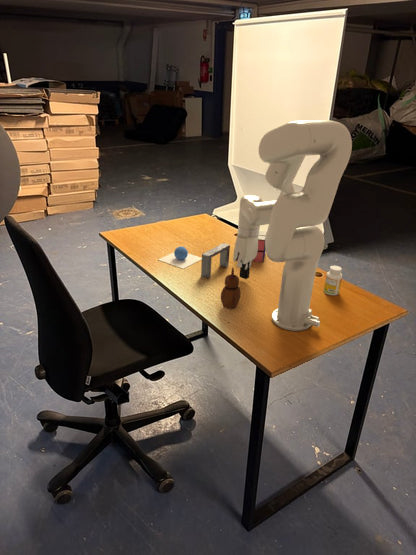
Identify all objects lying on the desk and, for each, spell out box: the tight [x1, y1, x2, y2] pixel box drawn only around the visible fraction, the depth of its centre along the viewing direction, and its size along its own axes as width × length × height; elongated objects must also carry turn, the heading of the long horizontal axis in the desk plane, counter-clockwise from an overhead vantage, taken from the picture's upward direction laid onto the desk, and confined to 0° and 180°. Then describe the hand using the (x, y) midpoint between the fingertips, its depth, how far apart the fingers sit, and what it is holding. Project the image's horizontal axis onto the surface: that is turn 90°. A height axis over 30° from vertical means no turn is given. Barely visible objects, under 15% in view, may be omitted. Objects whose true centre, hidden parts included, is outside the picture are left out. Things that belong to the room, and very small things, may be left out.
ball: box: [174, 246, 189, 260], centre depth 172 cm, size 6×6×6 cm
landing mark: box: [158, 251, 202, 270], centre depth 173 cm, size 13×13×1 cm
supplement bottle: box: [323, 265, 343, 296], centre depth 152 cm, size 5×5×10 cm
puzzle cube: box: [252, 230, 267, 263], centre depth 177 cm, size 10×10×10 cm
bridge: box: [200, 242, 231, 280], centre depth 163 cm, size 3×14×9 cm, turn 145°
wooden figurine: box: [220, 267, 242, 310], centre depth 138 cm, size 7×6×15 cm
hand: (244, 277), depth 158 cm, fingers closed
